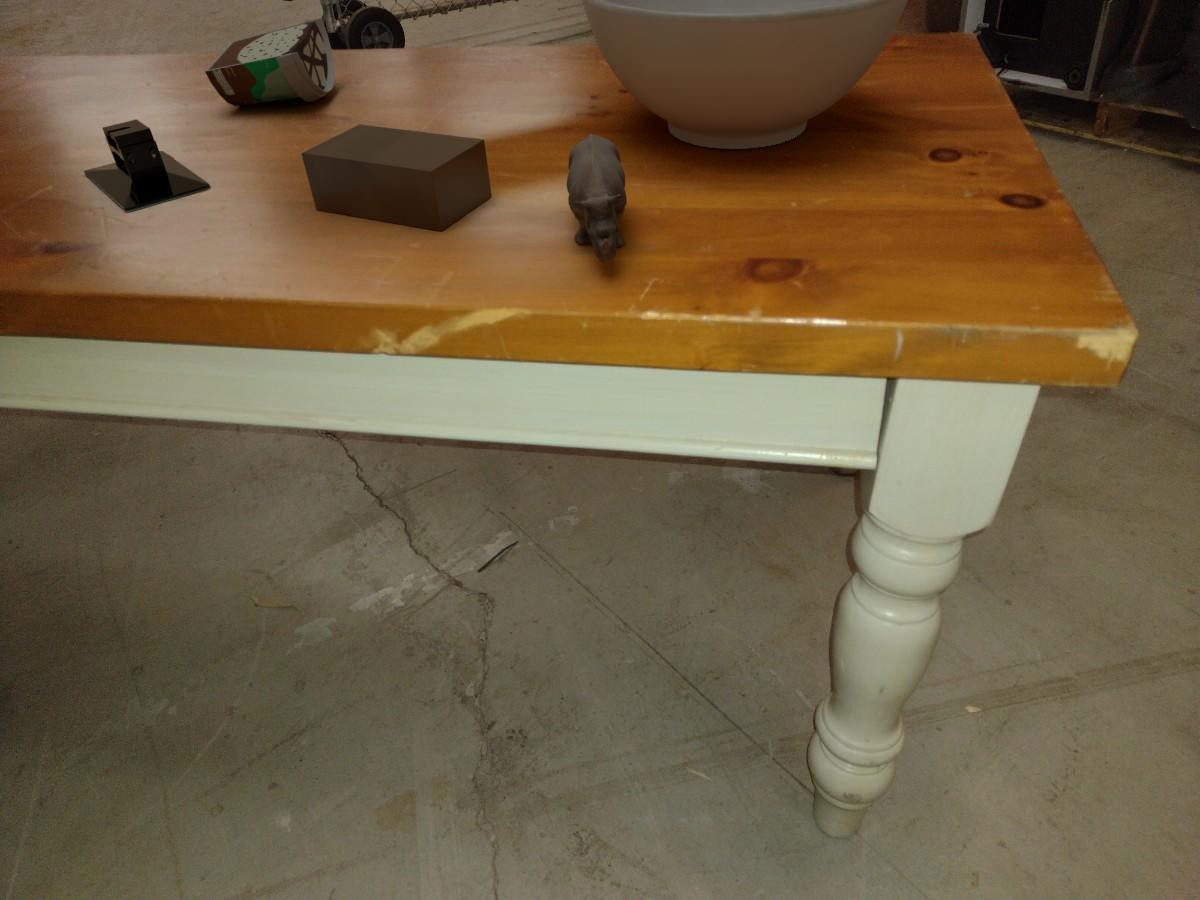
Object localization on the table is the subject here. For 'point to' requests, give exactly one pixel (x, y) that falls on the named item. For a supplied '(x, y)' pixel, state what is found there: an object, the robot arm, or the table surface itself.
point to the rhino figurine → (597, 194)
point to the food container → (275, 66)
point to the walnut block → (399, 176)
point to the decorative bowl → (740, 61)
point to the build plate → (141, 170)
